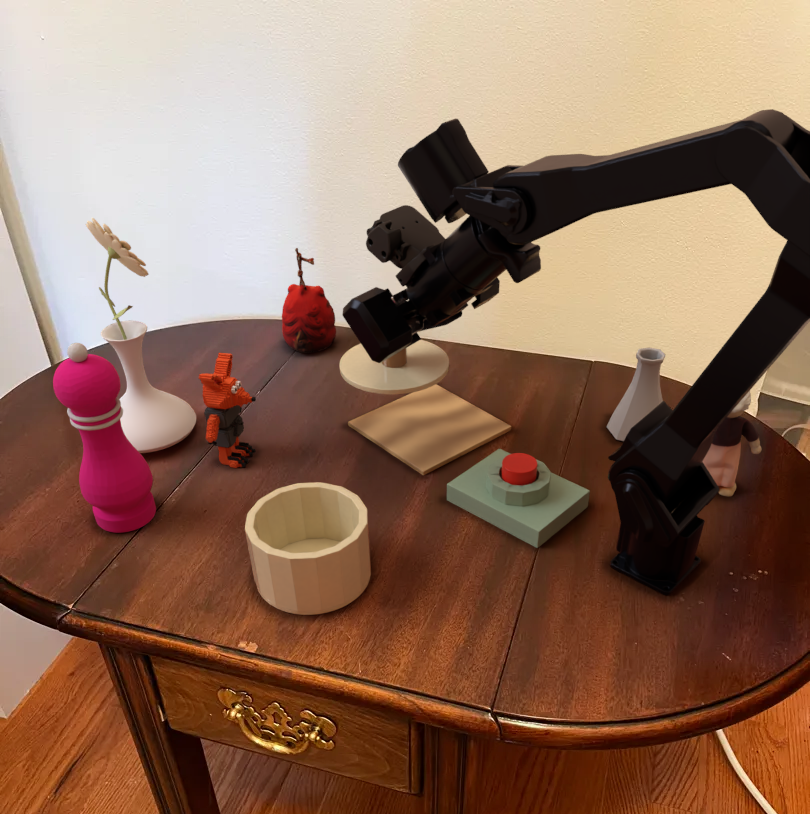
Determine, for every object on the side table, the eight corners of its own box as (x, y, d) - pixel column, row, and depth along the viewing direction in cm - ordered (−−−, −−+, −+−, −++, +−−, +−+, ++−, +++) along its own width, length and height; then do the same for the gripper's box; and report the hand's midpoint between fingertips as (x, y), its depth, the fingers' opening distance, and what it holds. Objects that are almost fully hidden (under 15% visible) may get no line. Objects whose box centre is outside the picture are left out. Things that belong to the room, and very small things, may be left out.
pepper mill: (91, 542, 86) (30, 367, 73) (92, 501, 92) (36, 332, 79) (162, 529, 88) (115, 355, 75) (159, 489, 93) (115, 321, 80)
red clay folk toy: (341, 335, 121) (333, 231, 111) (331, 358, 115) (322, 251, 106) (289, 333, 121) (277, 229, 112) (277, 356, 116) (263, 249, 106)
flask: (663, 414, 102) (679, 339, 96) (672, 447, 97) (689, 370, 90) (603, 412, 103) (615, 338, 97) (608, 445, 98) (621, 368, 91)
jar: (394, 571, 82) (392, 514, 77) (309, 633, 76) (301, 576, 71) (317, 523, 88) (310, 468, 83) (232, 577, 82) (220, 521, 77)
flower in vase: (207, 449, 99) (163, 238, 83) (108, 471, 96) (42, 257, 80) (187, 397, 108) (144, 198, 92) (96, 416, 105) (35, 214, 89)
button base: (587, 507, 89) (592, 476, 86) (537, 548, 84) (540, 517, 81) (498, 464, 95) (500, 434, 93) (446, 500, 90) (446, 470, 88)
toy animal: (251, 481, 94) (234, 386, 86) (206, 474, 95) (186, 380, 87) (277, 442, 100) (264, 350, 92) (235, 436, 101) (218, 345, 93)
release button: (543, 475, 87) (544, 461, 86) (522, 491, 85) (523, 477, 84) (515, 462, 89) (516, 448, 88) (494, 477, 87) (495, 463, 86)
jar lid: (456, 395, 88) (457, 336, 84) (342, 403, 87) (337, 344, 83) (441, 343, 97) (441, 287, 93) (338, 350, 96) (333, 294, 92)
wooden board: (511, 430, 100) (511, 426, 100) (423, 475, 94) (423, 471, 93) (434, 386, 109) (434, 382, 108) (348, 425, 102) (347, 421, 102)
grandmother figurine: (739, 476, 92) (768, 373, 84) (751, 497, 89) (782, 393, 81) (669, 479, 92) (692, 376, 84) (679, 500, 89) (704, 396, 81)
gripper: (480, 161, 82) (399, 247, 95) (350, 214, 72) (278, 303, 84) (541, 258, 83) (453, 330, 96) (422, 325, 73) (340, 396, 85)
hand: (384, 337), depth 90 cm, fingers closed on jar lid, 3 cm apart
